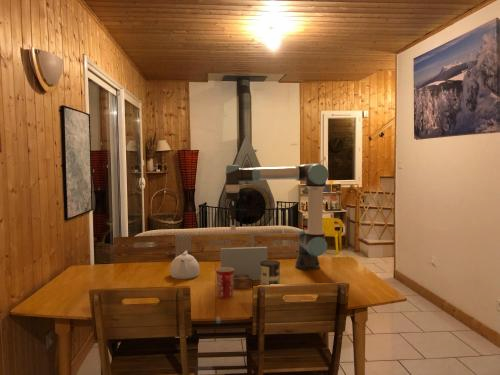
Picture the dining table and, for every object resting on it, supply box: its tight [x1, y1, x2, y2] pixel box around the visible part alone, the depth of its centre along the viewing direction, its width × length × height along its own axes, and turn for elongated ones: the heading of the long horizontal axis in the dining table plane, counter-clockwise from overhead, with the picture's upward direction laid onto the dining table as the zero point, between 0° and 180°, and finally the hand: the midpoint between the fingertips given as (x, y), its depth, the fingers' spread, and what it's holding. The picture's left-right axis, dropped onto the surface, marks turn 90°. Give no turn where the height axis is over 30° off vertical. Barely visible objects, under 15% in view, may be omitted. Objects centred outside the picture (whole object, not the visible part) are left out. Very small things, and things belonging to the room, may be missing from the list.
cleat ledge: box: [233, 275, 253, 289], centre depth 233 cm, size 14×14×5 cm
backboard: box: [220, 246, 268, 281], centre depth 242 cm, size 26×2×18 cm, turn 98°
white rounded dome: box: [169, 250, 200, 280], centre depth 251 cm, size 19×18×14 cm
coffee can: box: [259, 259, 281, 285], centre depth 225 cm, size 10×10×14 cm
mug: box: [215, 267, 234, 299], centre depth 211 cm, size 13×9×14 cm
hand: (232, 228), depth 248 cm, fingers open, 13 cm apart
